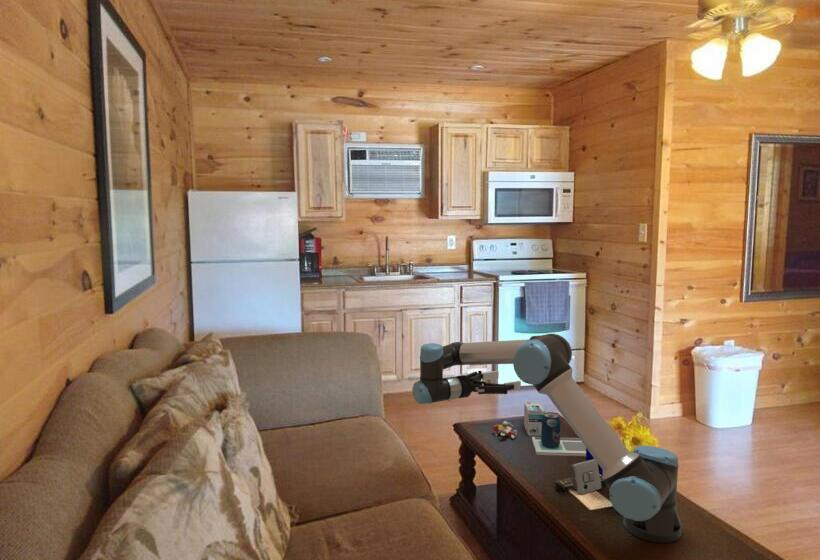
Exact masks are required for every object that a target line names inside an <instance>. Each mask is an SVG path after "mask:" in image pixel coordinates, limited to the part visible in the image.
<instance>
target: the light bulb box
mask: <svg viewBox="0 0 820 560" xmlns="http://www.w3.org/2000/svg"><path fill="white" fill-rule="evenodd" d="M523 403H524V405H523V407H524V408H523V410H524V411H523V412H524V413H523V415H524V416H523V417H524V418H523V420H524V421H523V422H524V423H523V424H524V425H523V427H524V429H525V431H526V434H527V435H528V436H529V437H541V430H542V417H543V415H544V413H546V410H545V409H544V407H543V406H542V404H541V402H539V401H537V402H536V401H534V402H532V401H524V402H523Z"/></svg>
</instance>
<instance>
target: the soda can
mask: <svg viewBox="0 0 820 560" xmlns="http://www.w3.org/2000/svg"><path fill="white" fill-rule="evenodd" d="M561 421H562V420H561V418H560V415H559V414H558V413H556V412H552V411H548V412H546V411H545V413H544V415H543V417H542V430H541V436H540V437H541V442H542V444H543V446H544V447H547V448H557V447H558V446H559V444H560V438H561V424H562V423H561Z"/></svg>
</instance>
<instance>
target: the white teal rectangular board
mask: <svg viewBox="0 0 820 560" xmlns="http://www.w3.org/2000/svg"><path fill="white" fill-rule="evenodd" d="M531 442H532V445H533V448H534V450H535V454H536V455H537V456H538V455H539V456H559V457H561V456H562V457H563V456H564V457H586V446H585V445H584V444H583V442H582V441H581V440H580V438H579V437H578V438H577V437H560V444H559V446H558V447H557V448H547V447H544V446H543V444H542V442H541V436H531Z"/></svg>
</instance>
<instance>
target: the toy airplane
mask: <svg viewBox="0 0 820 560" xmlns="http://www.w3.org/2000/svg"><path fill="white" fill-rule="evenodd" d="M514 427H515V426H514V425H513V424H512V423H511V422H509V421H507V420H504V421H502V424H496V425H493V427H492V430H493V431H495V432H496V433H494V436H495V437H499V435H500V436H501V437H505V436H509V437H510V438H511V439H515V438H516V436H517V435H518V431H517V429H514V430H512V429H513V428H514Z"/></svg>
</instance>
